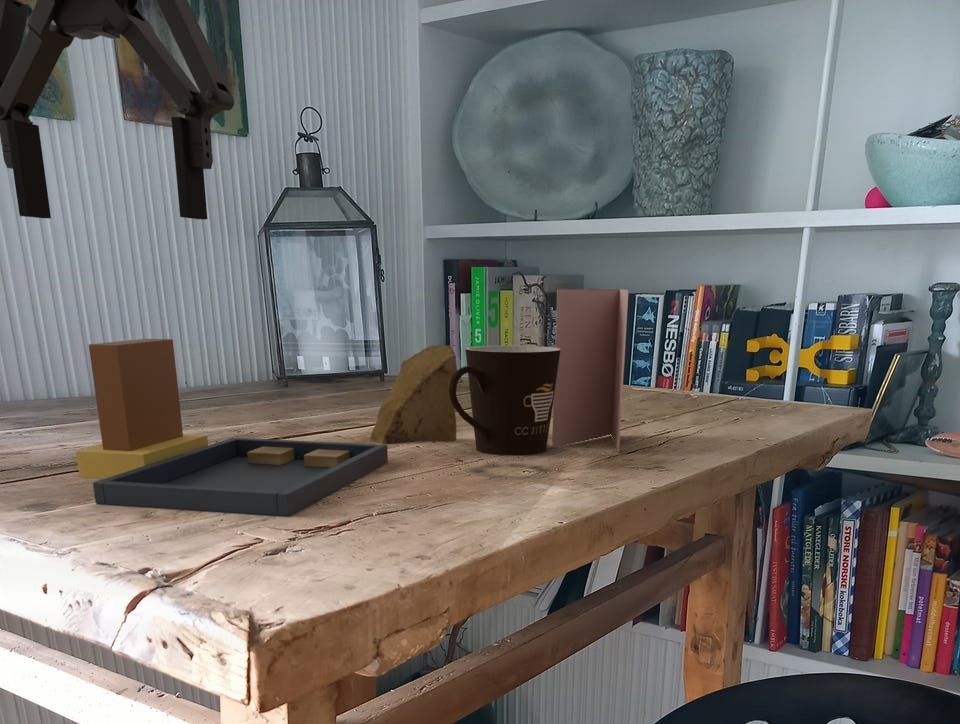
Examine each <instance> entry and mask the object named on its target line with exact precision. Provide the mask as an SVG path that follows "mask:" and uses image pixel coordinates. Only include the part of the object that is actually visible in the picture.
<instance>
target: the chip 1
mask: <svg viewBox="0 0 960 724" xmlns="http://www.w3.org/2000/svg"><path fill="white" fill-rule="evenodd" d="M247 456H248V463H249V464H265V465H282V464H284V463H287V462H289V461H291V460H294V459H295V458H294V448H283V447H260V448H257V449H255V450H252V451H249V452H247Z"/></svg>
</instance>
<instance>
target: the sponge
mask: <svg viewBox="0 0 960 724" xmlns="http://www.w3.org/2000/svg"><path fill="white" fill-rule="evenodd" d="M88 350H89V351H88V352H89V359H90V364H91V365H90V366H91V372H92V380H93V387H94V395H95V402H96V408H97V415H98V423H99V430H100V438H101V443H100V444H97V445H93V446H89V447H86V448H82V449H77V450H76V451H75V455H76V462H77V466H78V475H79V477H80V478H96V479H106V478H109V477H112V476H115V475H118V474H121V473H124V472H127V471H130V470H134V469H137V468H140V467H143V466H146V465H149V464H152V463H155V462H158V461H162V460H165V459H168V458H171V457H174V456H177V455H180V454H183V453H186V452H190V451H193V450H196V449H199V448H202V447H205V446H208V445H209V440H208V438H209V436H208V434H194V433H193V434H192V433H191V434H189V433H184V429H183V422H182V413H181V412H182V411H181V404H180V393H179V383H178V376H177V375H178V374H177V366H176V356H175V348H174V340H173V339H172V338H139V339H138V338H137V339H130V340H119V341H108V342H99V343H89V344H88Z"/></svg>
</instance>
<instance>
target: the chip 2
mask: <svg viewBox="0 0 960 724" xmlns="http://www.w3.org/2000/svg"><path fill="white" fill-rule="evenodd" d="M348 459H350V452H349V451H344V450H324V449H317V450H315V451H312V452H310V453H308V454H305V455H304V466H305V467H323V468H332V467H334V466H336V465H338V464H340V463H342V462H344V461H346V460H348Z"/></svg>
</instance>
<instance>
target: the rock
mask: <svg viewBox="0 0 960 724" xmlns="http://www.w3.org/2000/svg"><path fill="white" fill-rule="evenodd" d="M457 366H458V365H457V357H456V353H455V351H454V349H453V348H452V346H451V345H450V344H447V345H445V346H444V345H443V346H441V344H440V345H439V344H437V345H430V346H427V347H425V348H423V349H421V350H420V351H419V352H416V353H415V354H413V355H412V356H410V357H409V358H407V359H404V360H402V362H401V363H400V366H399V371H398V374H397V378H396V379H395V381H394V383H393V385H392V387H391V390H390V392H389V395H388V397H387V398H386V399H385V400H384V401H383V402H382V404H381V406H380V409H379V410H378V413H377V417H376V422H375V424H374V427H373V429H372V431H371V434H370V439H369V442H372V443H377V444H381V445H388V444H392V443H399V442H400V443H401V442H407V441H419V442H420V441H421V442H443V443H453V442H456V441H457V418H456V410H455V408H454V406H453V404H452V402H451V400H450V396H449V387H450V381H451V378H452V376H453V374H454V373H455V372H456V371H457V370H458V367H457ZM457 389H458V385H457V386H456V390H457Z"/></svg>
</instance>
